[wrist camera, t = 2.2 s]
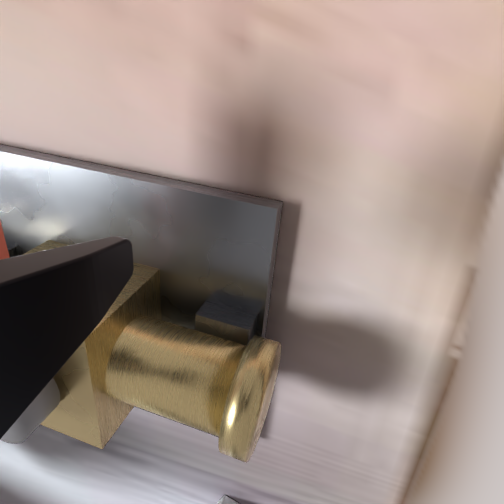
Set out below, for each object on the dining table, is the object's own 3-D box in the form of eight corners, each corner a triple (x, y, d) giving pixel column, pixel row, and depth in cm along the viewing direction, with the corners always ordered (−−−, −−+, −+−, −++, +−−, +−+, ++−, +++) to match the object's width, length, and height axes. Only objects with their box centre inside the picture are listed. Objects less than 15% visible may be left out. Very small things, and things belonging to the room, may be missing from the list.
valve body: (308, 206, 15) (262, 286, 10) (269, 441, 22) (231, 555, 17) (-55, 132, 19) (-209, 164, 14) (8, 348, 26) (-82, 418, 21)
